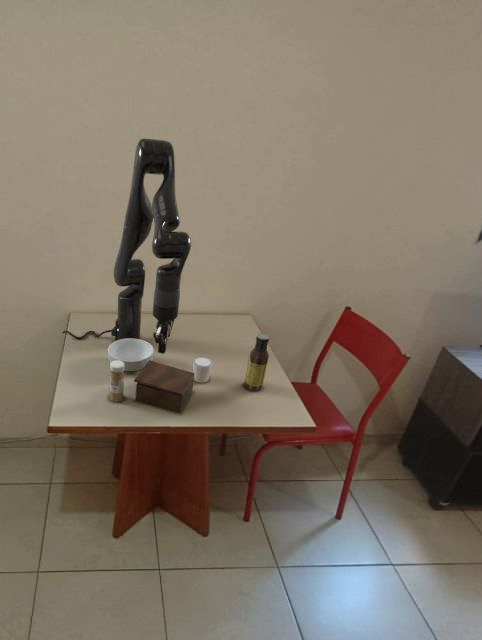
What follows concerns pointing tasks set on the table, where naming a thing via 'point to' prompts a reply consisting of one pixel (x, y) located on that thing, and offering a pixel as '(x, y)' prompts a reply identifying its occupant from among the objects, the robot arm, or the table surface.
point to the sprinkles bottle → (117, 380)
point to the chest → (163, 397)
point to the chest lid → (165, 377)
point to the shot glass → (202, 369)
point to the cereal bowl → (131, 353)
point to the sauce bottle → (257, 363)
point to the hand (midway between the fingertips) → (161, 352)
